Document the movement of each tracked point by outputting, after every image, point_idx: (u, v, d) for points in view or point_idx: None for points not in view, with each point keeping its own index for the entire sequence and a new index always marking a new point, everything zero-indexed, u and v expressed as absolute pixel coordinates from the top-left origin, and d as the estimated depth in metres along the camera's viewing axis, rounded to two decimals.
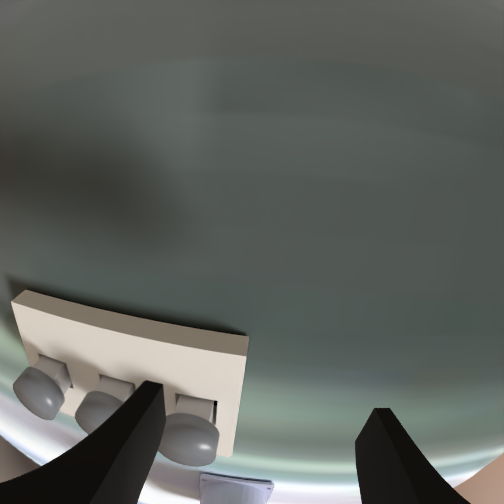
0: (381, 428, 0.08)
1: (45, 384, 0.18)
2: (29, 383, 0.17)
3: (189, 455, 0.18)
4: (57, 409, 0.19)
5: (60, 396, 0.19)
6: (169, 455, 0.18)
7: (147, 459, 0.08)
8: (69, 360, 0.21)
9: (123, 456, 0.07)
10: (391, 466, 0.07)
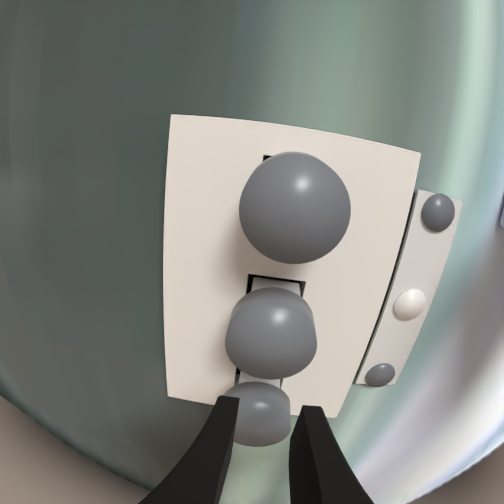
0: (304, 426, 0.09)
1: None
2: None
3: (309, 205, 0.11)
4: (268, 400, 0.16)
5: (256, 387, 0.17)
6: (320, 245, 0.12)
7: (224, 475, 0.08)
8: None
9: (219, 478, 0.07)
10: (309, 468, 0.07)
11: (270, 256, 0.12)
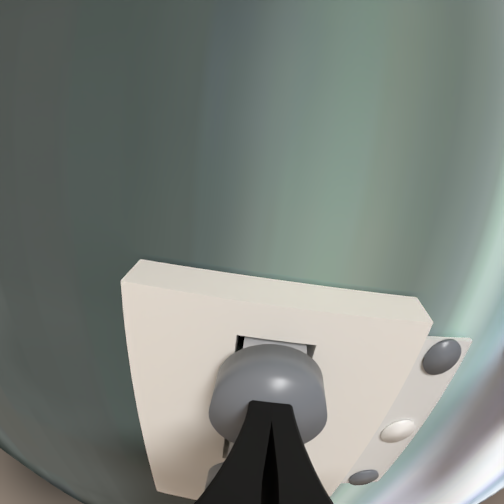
0: (271, 424, 0.09)
1: None
2: None
3: None
4: None
5: None
6: None
7: None
8: None
9: (260, 483, 0.06)
10: (272, 466, 0.07)
11: None
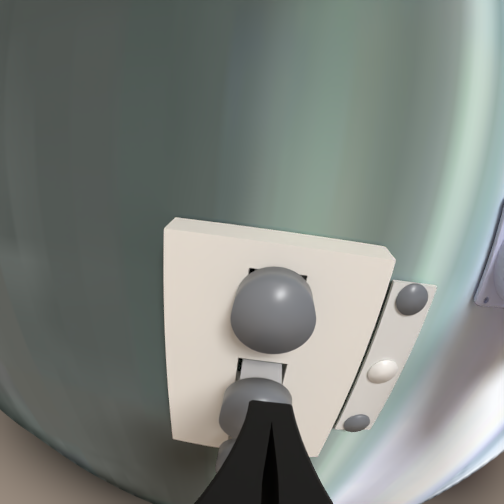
0: (271, 424, 0.09)
1: (224, 449, 0.19)
2: (216, 464, 0.18)
3: (283, 317, 0.15)
4: None
5: None
6: (292, 342, 0.15)
7: None
8: None
9: (260, 483, 0.06)
10: (272, 466, 0.07)
11: (255, 349, 0.16)
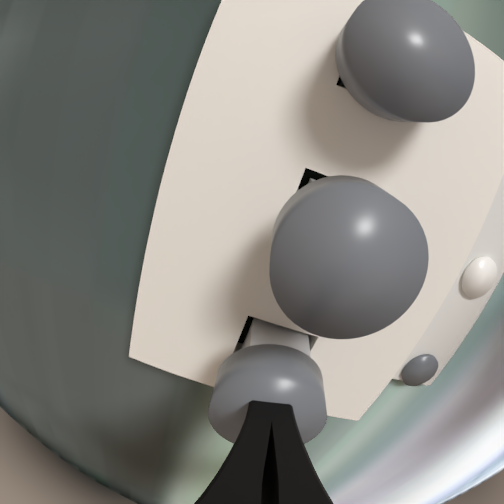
0: (271, 424, 0.09)
1: (236, 365, 0.10)
2: (214, 395, 0.10)
3: (432, 51, 0.07)
4: (303, 376, 0.10)
5: (283, 353, 0.10)
6: (439, 104, 0.07)
7: None
8: (241, 302, 0.12)
9: (260, 483, 0.06)
10: (272, 466, 0.07)
11: (378, 97, 0.07)
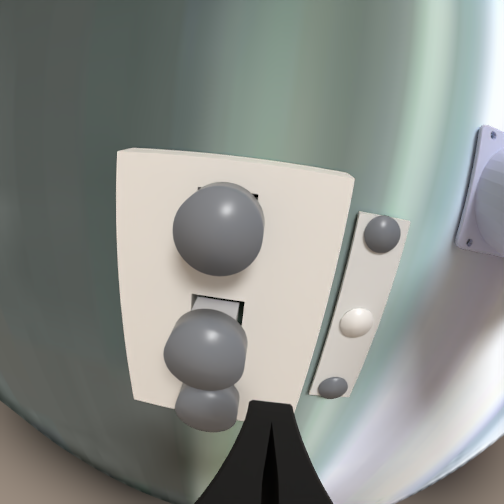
0: (271, 424, 0.09)
1: (184, 386, 0.19)
2: None
3: (227, 229, 0.14)
4: None
5: None
6: (239, 261, 0.15)
7: None
8: None
9: (260, 483, 0.06)
10: (272, 466, 0.07)
11: (199, 270, 0.15)
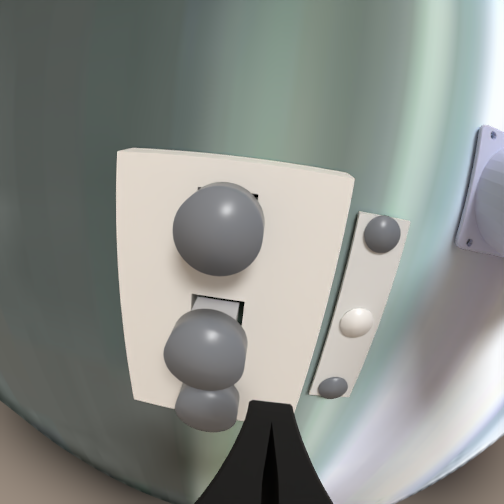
0: (271, 424, 0.09)
1: (184, 386, 0.19)
2: None
3: (227, 229, 0.14)
4: None
5: None
6: (239, 261, 0.15)
7: None
8: None
9: (260, 483, 0.06)
10: (272, 466, 0.07)
11: (199, 270, 0.15)
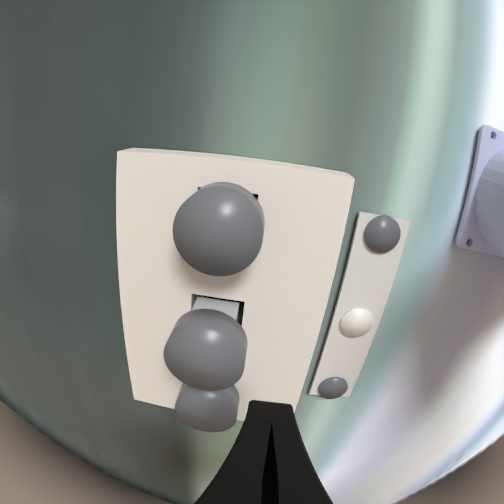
0: (271, 424, 0.09)
1: (184, 386, 0.19)
2: None
3: (227, 229, 0.14)
4: None
5: None
6: (239, 261, 0.15)
7: None
8: None
9: (260, 483, 0.06)
10: (272, 466, 0.07)
11: (199, 270, 0.15)
